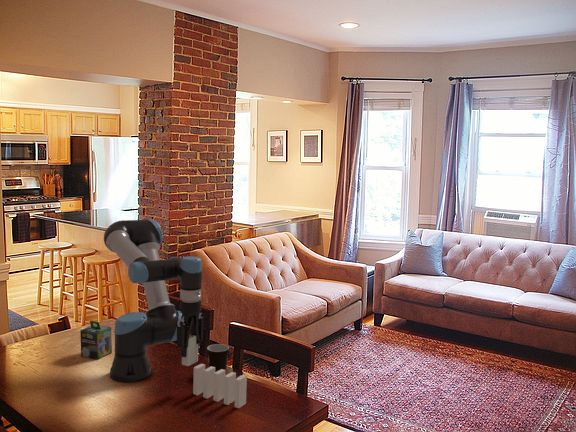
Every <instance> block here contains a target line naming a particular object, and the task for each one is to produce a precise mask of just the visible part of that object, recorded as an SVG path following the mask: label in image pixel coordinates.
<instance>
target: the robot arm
mask: <svg viewBox="0 0 576 432" xmlns="http://www.w3.org/2000/svg"><path fill="white" fill-rule="evenodd" d="M163 235H164V233H163V230H162V227H161V225H160V223H159V222H158V221H156V220H155V219H148V218H144V219H131V220H130V219H127V220H123V219H122V220H117V221H115V222H113V223H111V224H110V225H109V226H108V227H107V228H106V229H105V231H104V234H103V243H104V245H105V247H106V248H107V249H108V250H109V251H110V252H111V253H114V254H116V255H117V257H118V258H120V260H121V261H122V262H123V264H125V265H126V267H127V268H128V269H127V273H128V274H127V275H128V278H129V281H130V282H131V283H132V284H142V285H143V287H144V293H145V297H146V301H147V306H148V309H147V310H146V312H141V311H137V312H136V311H134V312H133V311H132V312H129V313H125V314H122V315H120V316H119V317H118V318H116V320H115V324H114V330H113V331H114V332H113V333H114V358H113V360H112V364H111V367H110V370H109V377H110V379H111V380H113V381H115V382H120V383H133V382H139V381H142V380H145V379H147V378H148V377H150V375H151V371H152V370H151V365H150V362H149V359H148V356H147V347H149V346H154V345H160V344H165V343H171V342H175V341H176V347H177V348H180V349H181V350H180V351H181V353H180V355H181V365H182V366H184V367H185V366H186V367H189V348H187V347H188V341H189V336H191V335H195V336H196V363H198V361H199V350H200V344H202V342H203V339H204V319H205V316H206V315H205V313H202V312H201V310H202V284H203V283H202V280H203V278H202V277H203V264H202V262H203V259H201V258H200V257H199V256H193V255H191V256H190V255H188V256H183V257H179V256H172V257H170V258H167V259H160V256H159V252H158V251H159V250H160V248H161V245H162V244H163V240H164V237H163ZM169 280H170V281H171V280H178V281H180V289H179V299H180V301H179V310H177V309H176V307H175V306H176V305H175V304H173V303H171V301H170V298H169V297H170V296H169V293H168V288H167V285H166V281H169ZM190 334H191V335H190Z"/></svg>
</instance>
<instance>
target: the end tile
mask: <svg viewBox="0 0 576 432" xmlns="http://www.w3.org/2000/svg"><path fill="white" fill-rule="evenodd" d="M187 348H189V366H191V365H194V364H196V363H197V362H196V336H195V335H192V334H191V335H189V341H188V347H187ZM189 366H188V367H189Z"/></svg>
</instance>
